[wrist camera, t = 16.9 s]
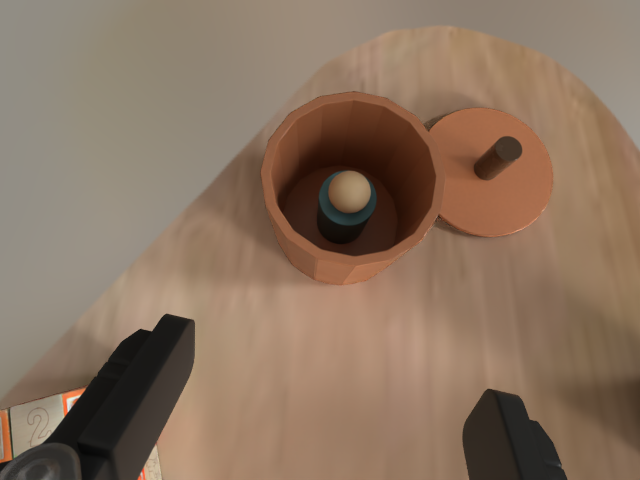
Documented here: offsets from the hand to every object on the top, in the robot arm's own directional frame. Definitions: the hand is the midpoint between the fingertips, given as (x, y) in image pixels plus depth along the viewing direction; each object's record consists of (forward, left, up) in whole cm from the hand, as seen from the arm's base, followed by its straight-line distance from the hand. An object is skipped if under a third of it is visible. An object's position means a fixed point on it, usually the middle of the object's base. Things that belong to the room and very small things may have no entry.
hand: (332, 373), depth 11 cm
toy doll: (0, -11, -25) cm, 28 cm away
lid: (-13, -20, -25) cm, 34 cm away
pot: (0, -12, -26) cm, 28 cm away
